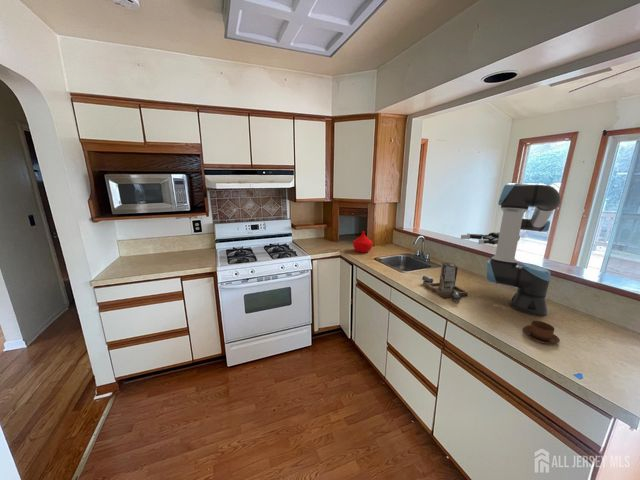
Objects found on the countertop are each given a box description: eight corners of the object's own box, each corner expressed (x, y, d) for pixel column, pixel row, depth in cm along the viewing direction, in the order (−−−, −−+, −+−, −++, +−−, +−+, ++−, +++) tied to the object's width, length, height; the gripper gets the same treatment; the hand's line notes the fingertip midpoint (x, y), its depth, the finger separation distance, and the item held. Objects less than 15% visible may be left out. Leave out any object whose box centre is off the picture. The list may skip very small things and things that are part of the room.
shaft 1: (432, 285, 159) (433, 278, 158) (430, 286, 158) (431, 279, 157) (424, 282, 164) (425, 275, 163) (421, 283, 162) (422, 276, 161)
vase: (374, 253, 229) (376, 233, 224) (355, 254, 226) (356, 233, 222) (368, 248, 246) (369, 229, 242) (350, 249, 244) (351, 229, 240)
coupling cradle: (467, 296, 145) (468, 292, 145) (444, 298, 141) (444, 294, 141) (447, 285, 160) (447, 281, 160) (425, 287, 156) (426, 283, 156)
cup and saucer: (540, 347, 100) (543, 334, 99) (514, 330, 112) (517, 318, 111) (567, 346, 101) (570, 333, 100) (539, 329, 113) (542, 317, 112)
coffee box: (454, 293, 146) (458, 267, 142) (442, 292, 147) (446, 266, 143) (449, 287, 155) (453, 262, 151) (438, 286, 156) (441, 261, 152)
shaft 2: (449, 298, 142) (451, 290, 141) (455, 298, 142) (456, 290, 140) (454, 303, 136) (455, 295, 135) (460, 303, 136) (461, 295, 135)
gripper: (514, 248, 151) (486, 250, 146) (479, 239, 175) (453, 240, 169) (516, 236, 149) (488, 237, 144) (481, 228, 173) (455, 229, 168)
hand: (469, 239), depth 157 cm, fingers open, 13 cm apart
